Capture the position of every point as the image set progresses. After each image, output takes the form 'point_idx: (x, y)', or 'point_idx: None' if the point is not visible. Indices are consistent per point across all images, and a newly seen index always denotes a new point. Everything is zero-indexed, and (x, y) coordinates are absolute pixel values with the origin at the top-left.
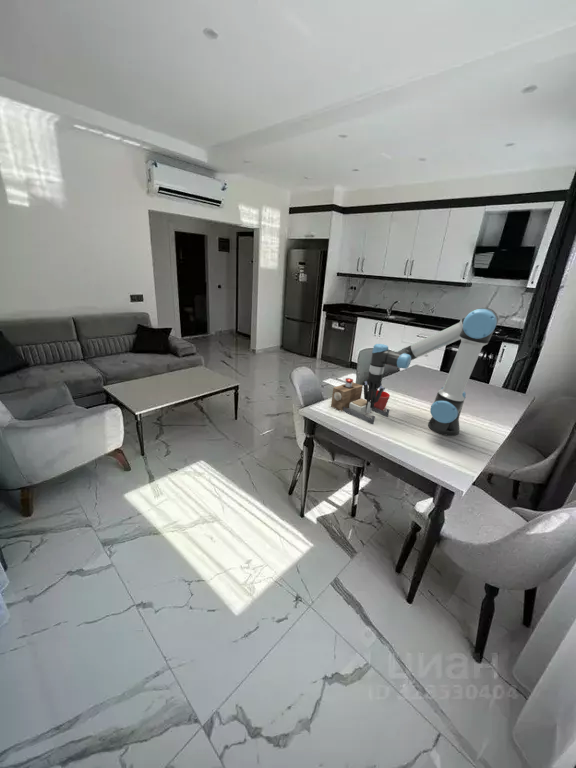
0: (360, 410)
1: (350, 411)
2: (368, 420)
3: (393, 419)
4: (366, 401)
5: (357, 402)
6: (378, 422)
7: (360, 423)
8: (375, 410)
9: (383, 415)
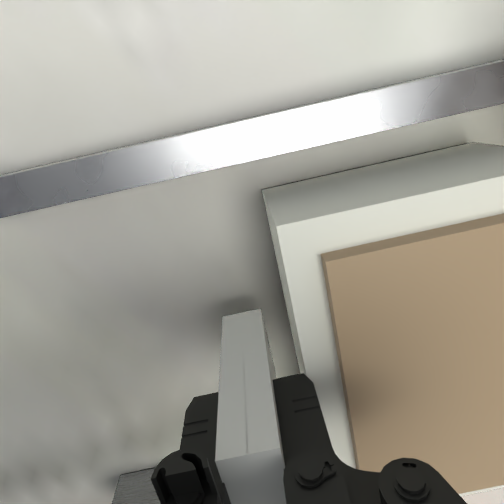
0: (281, 207)
1: (403, 83)
2: (44, 165)
3: (52, 496)
4: None
5: (484, 301)
6: (25, 298)
7: (61, 11)
8: None
9: None
